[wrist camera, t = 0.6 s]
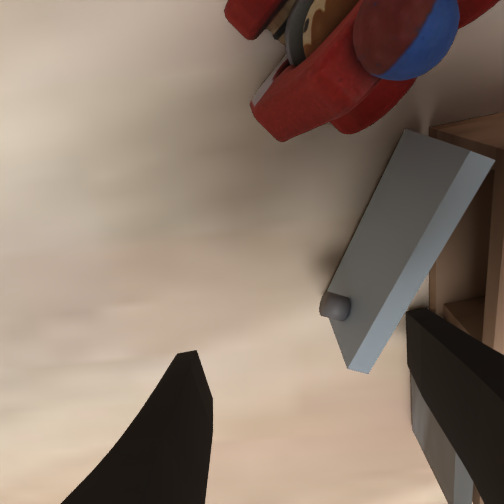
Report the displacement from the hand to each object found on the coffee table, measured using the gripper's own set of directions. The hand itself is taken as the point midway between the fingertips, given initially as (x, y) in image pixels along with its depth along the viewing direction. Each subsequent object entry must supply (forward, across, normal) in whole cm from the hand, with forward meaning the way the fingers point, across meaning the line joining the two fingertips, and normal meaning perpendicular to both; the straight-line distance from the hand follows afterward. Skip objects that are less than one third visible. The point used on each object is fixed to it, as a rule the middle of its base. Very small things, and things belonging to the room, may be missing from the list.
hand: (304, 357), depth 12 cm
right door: (+9, -4, 0) cm, 10 cm away
